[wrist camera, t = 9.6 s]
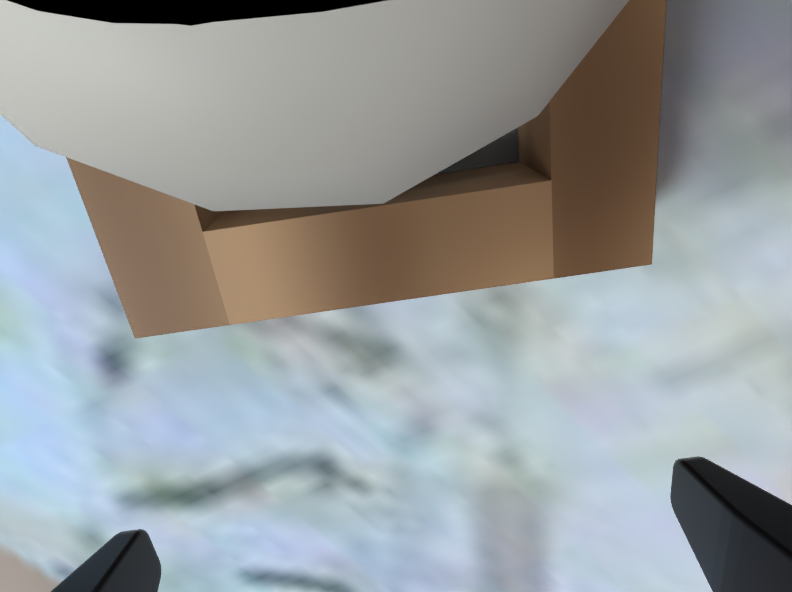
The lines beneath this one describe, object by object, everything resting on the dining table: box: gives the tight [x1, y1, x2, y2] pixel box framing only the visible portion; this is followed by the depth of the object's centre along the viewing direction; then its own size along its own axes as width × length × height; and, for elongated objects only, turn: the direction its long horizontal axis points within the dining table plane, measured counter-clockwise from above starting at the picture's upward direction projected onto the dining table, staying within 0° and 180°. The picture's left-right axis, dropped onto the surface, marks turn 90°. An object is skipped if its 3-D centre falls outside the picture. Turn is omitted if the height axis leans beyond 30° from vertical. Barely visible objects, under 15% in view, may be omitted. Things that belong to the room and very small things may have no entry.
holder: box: [66, 0, 666, 338], centre depth 12 cm, size 13×13×3 cm
